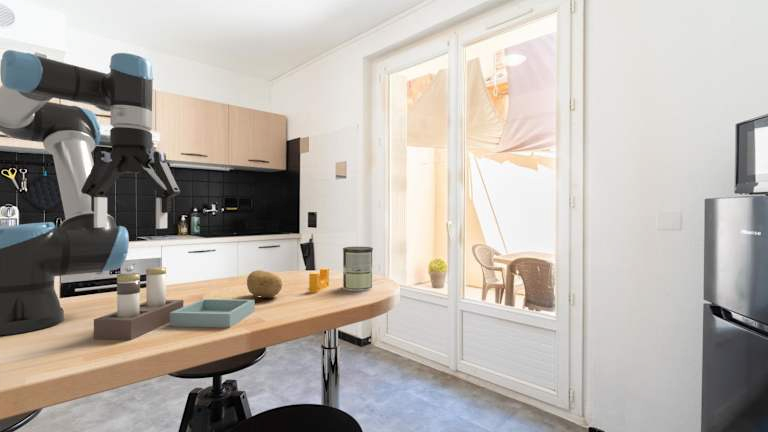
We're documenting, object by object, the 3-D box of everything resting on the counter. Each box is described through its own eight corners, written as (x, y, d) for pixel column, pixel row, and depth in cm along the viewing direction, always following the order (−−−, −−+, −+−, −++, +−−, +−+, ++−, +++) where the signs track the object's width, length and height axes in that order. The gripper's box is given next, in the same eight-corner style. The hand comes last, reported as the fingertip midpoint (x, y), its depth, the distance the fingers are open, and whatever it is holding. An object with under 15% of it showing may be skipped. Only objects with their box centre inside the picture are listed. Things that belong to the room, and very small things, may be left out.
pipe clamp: (317, 286, 135) (317, 268, 135) (328, 286, 134) (328, 268, 134) (304, 293, 123) (304, 273, 123) (316, 293, 123) (316, 274, 123)
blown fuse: (112, 332, 80) (112, 276, 80) (126, 327, 84) (126, 272, 84) (130, 333, 79) (130, 276, 79) (144, 327, 83) (144, 273, 83)
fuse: (141, 320, 89) (142, 269, 89) (153, 316, 93) (153, 267, 93) (158, 321, 88) (158, 269, 88) (169, 316, 92) (169, 267, 92)
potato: (259, 304, 107) (259, 276, 107) (239, 296, 118) (239, 270, 118) (290, 299, 114) (290, 272, 114) (269, 292, 124) (269, 267, 124)
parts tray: (169, 326, 86) (169, 312, 86) (202, 310, 100) (202, 298, 100) (229, 327, 85) (229, 314, 85) (254, 311, 99) (254, 299, 99)
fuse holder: (93, 338, 77) (93, 319, 77) (152, 315, 95) (152, 299, 95) (131, 339, 77) (131, 320, 77) (183, 316, 95) (183, 300, 95)
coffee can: (337, 288, 132) (337, 247, 132) (361, 284, 138) (361, 246, 138) (354, 292, 124) (354, 249, 124) (378, 289, 130) (378, 248, 130)
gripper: (60, 125, 78) (59, 227, 79) (178, 125, 77) (177, 229, 78) (89, 132, 86) (89, 226, 86) (197, 133, 85) (196, 227, 85)
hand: (131, 228), depth 82 cm, fingers open, 13 cm apart
